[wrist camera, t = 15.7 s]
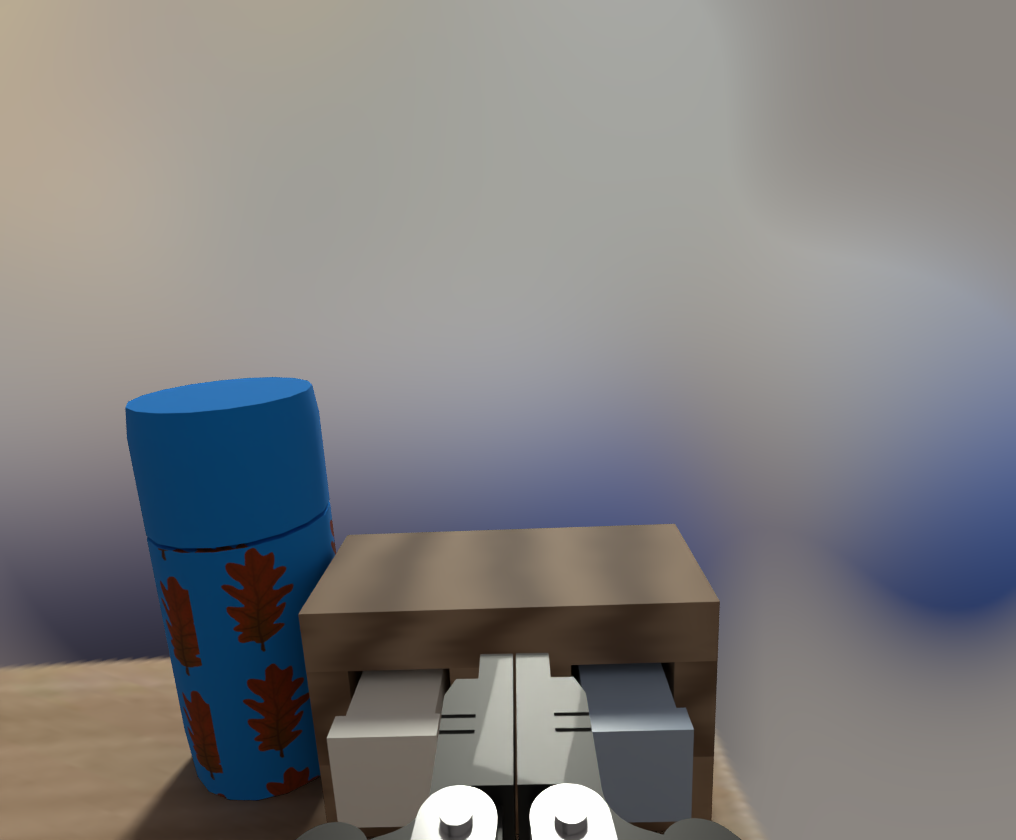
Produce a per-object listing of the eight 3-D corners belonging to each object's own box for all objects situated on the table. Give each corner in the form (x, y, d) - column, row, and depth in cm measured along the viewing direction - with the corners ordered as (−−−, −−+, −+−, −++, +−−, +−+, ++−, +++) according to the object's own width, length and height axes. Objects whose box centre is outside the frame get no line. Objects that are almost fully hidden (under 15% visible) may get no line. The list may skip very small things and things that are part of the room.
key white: (338, 827, 32) (326, 738, 30) (386, 679, 43) (378, 609, 42) (444, 825, 31) (436, 735, 30) (464, 677, 43) (459, 606, 41)
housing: (329, 837, 37) (298, 614, 34) (368, 718, 47) (347, 535, 44) (710, 830, 37) (719, 601, 33) (671, 710, 46) (674, 523, 43)
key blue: (583, 823, 31) (581, 732, 30) (567, 674, 42) (565, 603, 41) (691, 821, 31) (693, 729, 30) (646, 672, 42) (646, 601, 41)
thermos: (372, 764, 43) (329, 396, 37) (195, 830, 38) (112, 424, 32) (338, 674, 52) (300, 371, 46) (193, 719, 48) (130, 389, 42)
